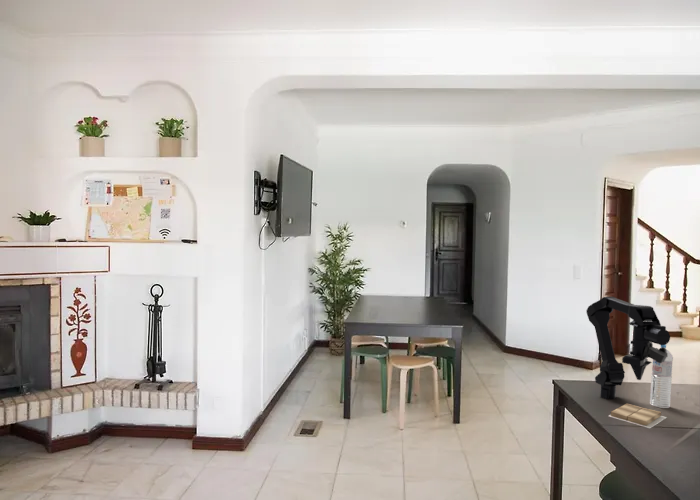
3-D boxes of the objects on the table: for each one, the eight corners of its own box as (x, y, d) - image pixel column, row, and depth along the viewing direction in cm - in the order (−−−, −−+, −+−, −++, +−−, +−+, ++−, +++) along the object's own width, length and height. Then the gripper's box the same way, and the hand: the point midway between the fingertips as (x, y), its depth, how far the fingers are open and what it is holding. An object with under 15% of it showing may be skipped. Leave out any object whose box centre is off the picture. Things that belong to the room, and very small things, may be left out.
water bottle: (672, 411, 195) (676, 347, 194) (653, 409, 197) (657, 346, 195) (665, 405, 202) (669, 343, 201) (646, 403, 203) (650, 342, 202)
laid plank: (626, 407, 195) (627, 403, 195) (642, 411, 191) (642, 407, 191) (610, 415, 185) (610, 411, 185) (626, 420, 181) (626, 416, 181)
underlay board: (626, 408, 196) (626, 406, 196) (666, 420, 186) (666, 417, 186) (607, 418, 185) (608, 415, 185) (649, 431, 175) (650, 428, 175)
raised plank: (643, 411, 191) (643, 407, 191) (661, 416, 186) (661, 411, 186) (627, 420, 181) (627, 416, 181) (646, 425, 176) (646, 421, 176)
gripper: (656, 346, 178) (653, 390, 179) (673, 340, 190) (671, 380, 191) (622, 340, 186) (620, 382, 187) (641, 334, 199) (639, 373, 199)
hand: (638, 379), depth 191 cm, fingers closed
